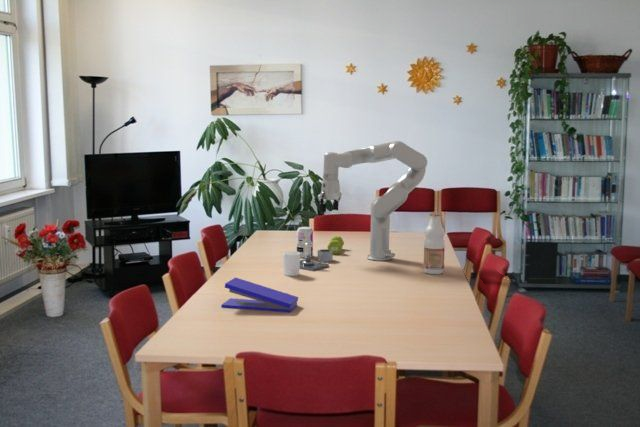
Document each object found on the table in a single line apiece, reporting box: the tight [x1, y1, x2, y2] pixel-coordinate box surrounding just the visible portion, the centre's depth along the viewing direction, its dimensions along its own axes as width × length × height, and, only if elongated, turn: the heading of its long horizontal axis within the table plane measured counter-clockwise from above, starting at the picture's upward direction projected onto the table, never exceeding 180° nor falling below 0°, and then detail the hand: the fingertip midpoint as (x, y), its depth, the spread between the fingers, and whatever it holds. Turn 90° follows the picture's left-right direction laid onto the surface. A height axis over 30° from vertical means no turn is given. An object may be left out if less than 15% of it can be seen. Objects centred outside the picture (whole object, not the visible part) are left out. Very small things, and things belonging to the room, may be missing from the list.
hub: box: [317, 248, 334, 263], centre depth 369 cm, size 7×7×5 cm
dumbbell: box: [326, 235, 345, 255], centre depth 392 cm, size 16×8×7 cm, turn 173°
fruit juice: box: [423, 212, 446, 275], centre depth 343 cm, size 9×9×28 cm
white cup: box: [282, 251, 301, 277], centre depth 337 cm, size 8×8×10 cm
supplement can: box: [296, 226, 314, 259], centre depth 377 cm, size 8×8×15 cm
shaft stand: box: [299, 243, 330, 272], centre depth 354 cm, size 16×12×11 cm
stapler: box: [220, 277, 299, 313], centre depth 284 cm, size 12×28×10 cm, turn 77°
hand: (329, 210), depth 372 cm, fingers open, 9 cm apart
